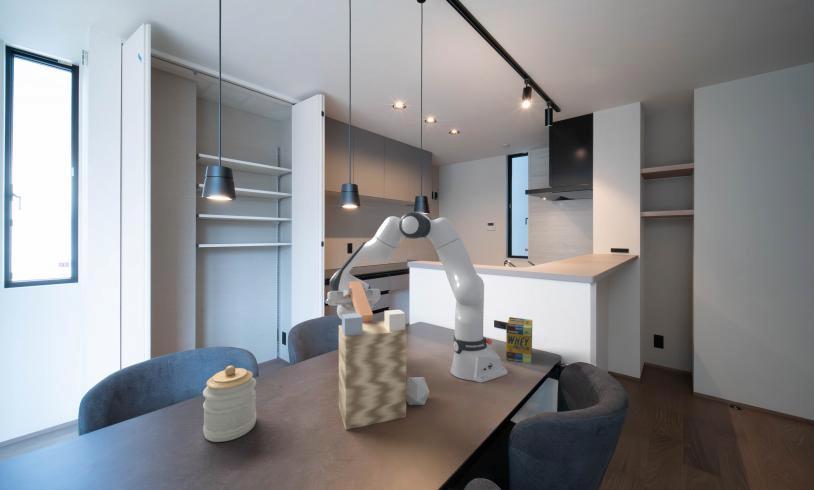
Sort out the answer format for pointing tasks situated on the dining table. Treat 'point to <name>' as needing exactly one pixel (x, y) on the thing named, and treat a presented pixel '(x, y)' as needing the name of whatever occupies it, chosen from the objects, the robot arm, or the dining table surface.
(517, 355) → the protein box
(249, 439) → the dining table surface
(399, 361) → the oak stand
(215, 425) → the jar
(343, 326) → the cube slate
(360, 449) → the dining table surface
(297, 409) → the dining table surface
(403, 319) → the cube cream
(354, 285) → the bar terracotta
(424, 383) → the die
